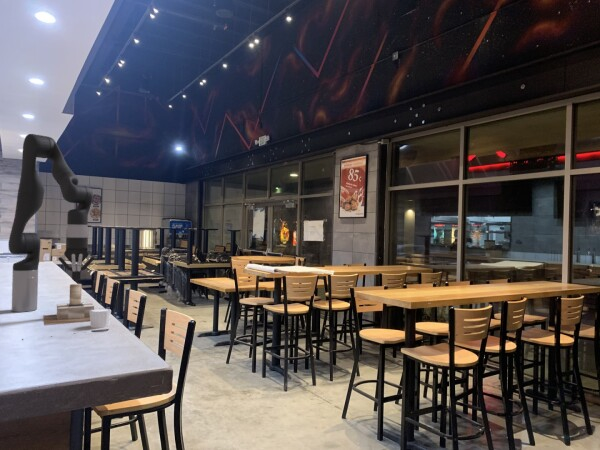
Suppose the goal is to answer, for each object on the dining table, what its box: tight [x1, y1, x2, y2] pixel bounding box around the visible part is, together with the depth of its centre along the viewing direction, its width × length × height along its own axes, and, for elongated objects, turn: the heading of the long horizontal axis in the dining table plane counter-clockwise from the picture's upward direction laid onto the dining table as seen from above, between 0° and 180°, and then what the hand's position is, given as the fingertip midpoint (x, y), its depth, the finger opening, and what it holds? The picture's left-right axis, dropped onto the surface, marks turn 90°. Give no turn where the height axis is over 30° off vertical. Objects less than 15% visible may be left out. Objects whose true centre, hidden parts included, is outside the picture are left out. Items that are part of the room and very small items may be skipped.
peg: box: [68, 283, 83, 307], centre depth 166 cm, size 4×4×12 cm
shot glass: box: [89, 308, 112, 333], centre depth 149 cm, size 7×7×7 cm
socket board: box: [42, 301, 95, 326], centre depth 161 cm, size 20×17×6 cm
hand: (75, 281), depth 166 cm, fingers closed
